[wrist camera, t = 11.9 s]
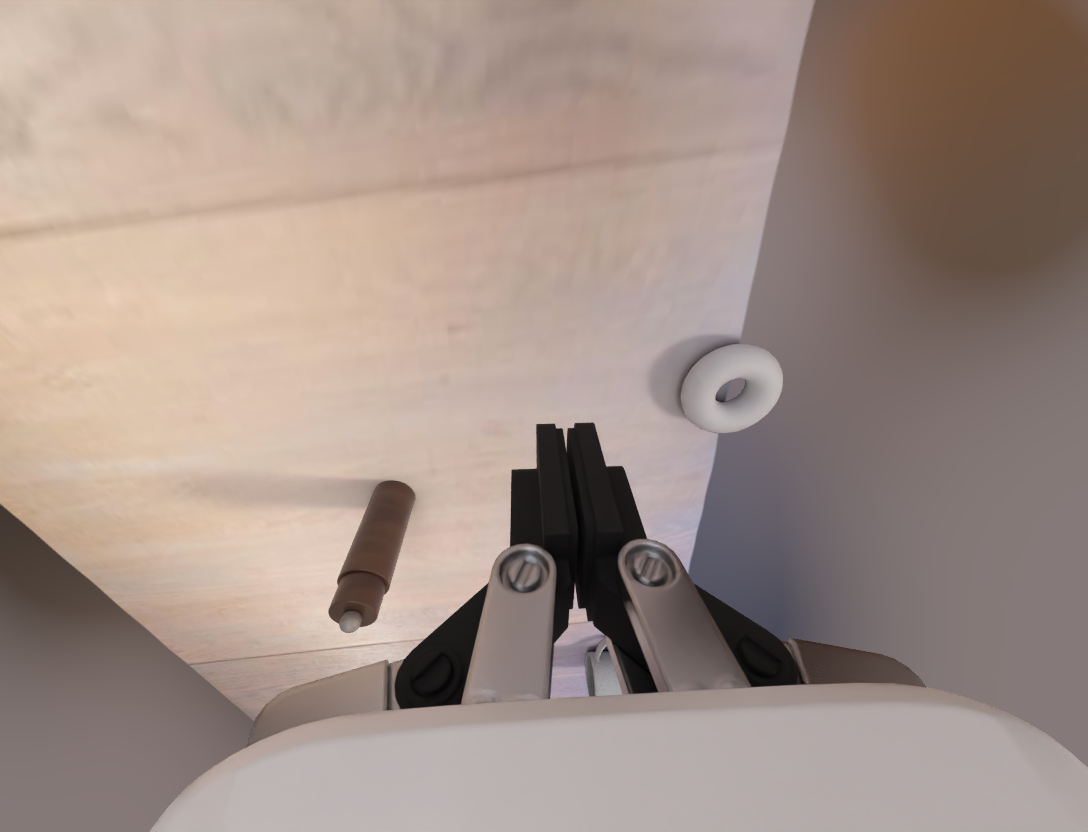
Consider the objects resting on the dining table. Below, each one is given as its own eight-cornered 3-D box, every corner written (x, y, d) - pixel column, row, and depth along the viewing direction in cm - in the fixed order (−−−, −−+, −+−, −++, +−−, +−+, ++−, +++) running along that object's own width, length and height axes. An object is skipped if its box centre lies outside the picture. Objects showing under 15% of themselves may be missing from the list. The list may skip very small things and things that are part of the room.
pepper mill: (397, 474, 47) (348, 609, 34) (423, 500, 50) (387, 635, 36) (365, 490, 48) (305, 627, 35) (392, 514, 51) (345, 651, 37)
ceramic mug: (627, 663, 76) (637, 711, 69) (583, 665, 75) (589, 713, 69) (636, 632, 70) (648, 680, 63) (589, 633, 69) (596, 683, 63)
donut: (745, 425, 46) (790, 345, 41) (760, 444, 43) (811, 361, 38) (662, 414, 45) (697, 330, 39) (672, 434, 42) (711, 346, 36)
